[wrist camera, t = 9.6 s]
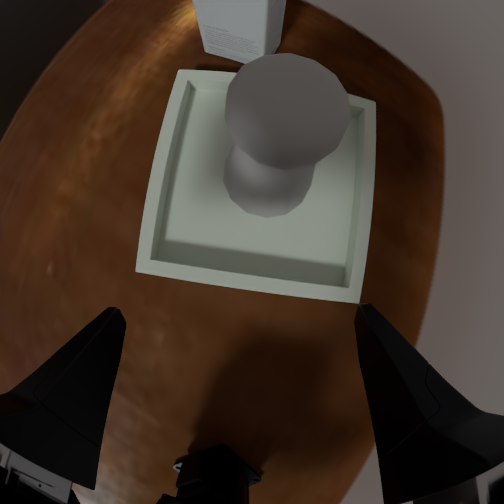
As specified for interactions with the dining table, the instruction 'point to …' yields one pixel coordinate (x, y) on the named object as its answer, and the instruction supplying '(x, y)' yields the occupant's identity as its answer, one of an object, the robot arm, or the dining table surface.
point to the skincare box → (240, 27)
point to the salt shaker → (280, 130)
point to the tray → (248, 225)
